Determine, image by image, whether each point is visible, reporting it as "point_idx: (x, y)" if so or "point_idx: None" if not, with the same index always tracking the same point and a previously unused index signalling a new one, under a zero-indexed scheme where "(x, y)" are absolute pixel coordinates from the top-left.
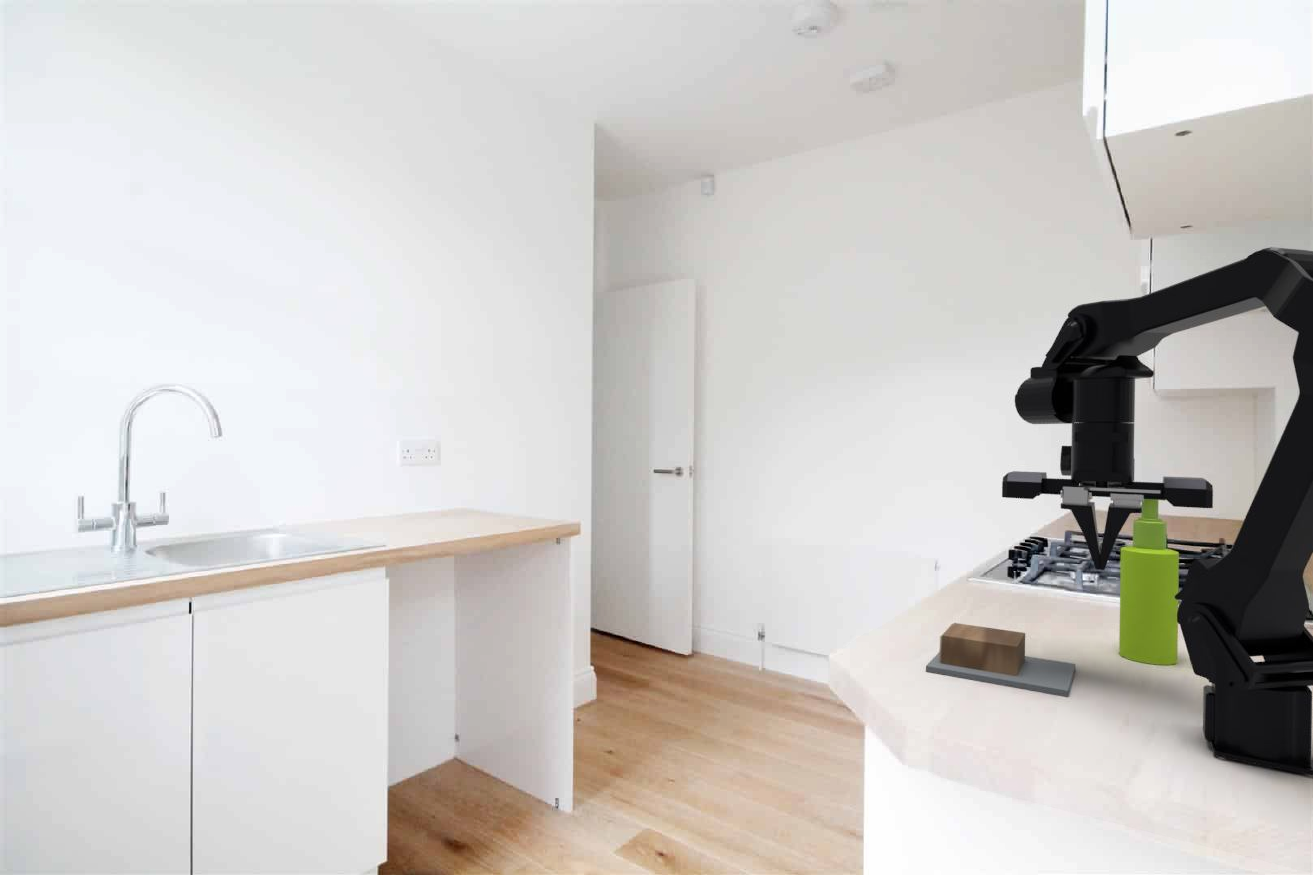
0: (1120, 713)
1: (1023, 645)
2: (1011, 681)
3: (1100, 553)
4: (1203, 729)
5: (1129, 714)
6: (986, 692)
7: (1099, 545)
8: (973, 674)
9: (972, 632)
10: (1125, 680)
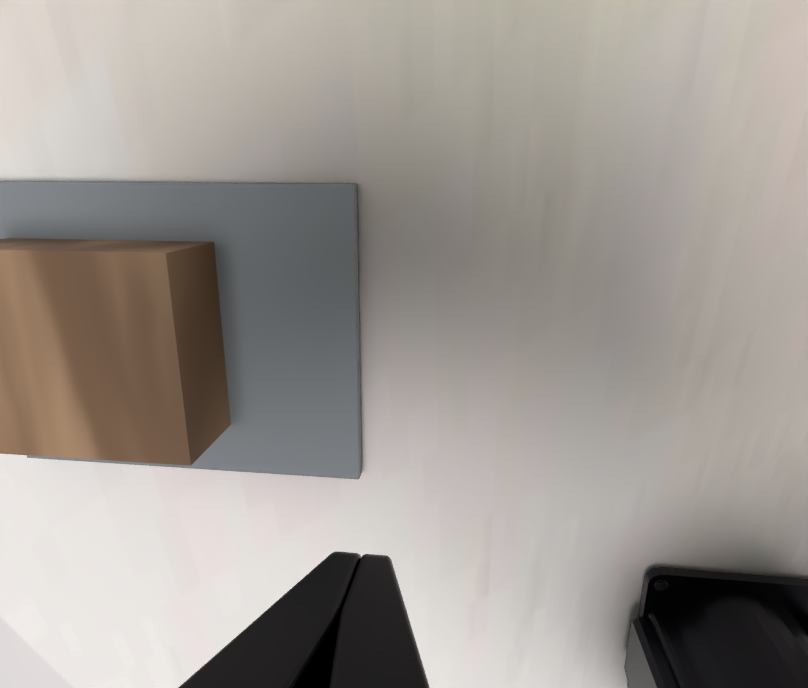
0: (475, 527)
1: (189, 295)
2: (230, 470)
3: (334, 627)
4: (631, 641)
5: (494, 524)
6: (200, 531)
7: (304, 677)
8: (140, 464)
9: (29, 359)
10: (499, 221)
